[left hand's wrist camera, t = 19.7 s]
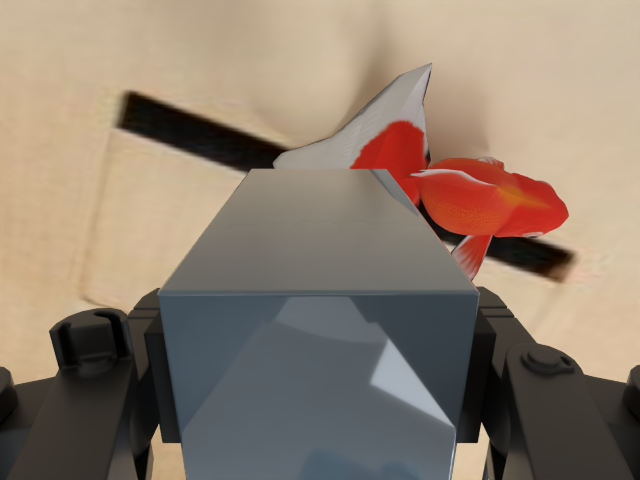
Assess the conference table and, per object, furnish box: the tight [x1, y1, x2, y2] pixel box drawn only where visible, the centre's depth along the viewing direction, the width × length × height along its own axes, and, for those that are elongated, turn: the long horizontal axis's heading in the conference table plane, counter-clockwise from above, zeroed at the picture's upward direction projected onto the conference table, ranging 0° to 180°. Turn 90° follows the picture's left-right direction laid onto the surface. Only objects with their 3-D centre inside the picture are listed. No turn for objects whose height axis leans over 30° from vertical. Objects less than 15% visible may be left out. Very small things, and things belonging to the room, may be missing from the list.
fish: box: [273, 63, 569, 281], centre depth 24 cm, size 11×16×10 cm
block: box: [158, 169, 480, 480], centre depth 12 cm, size 5×5×10 cm
